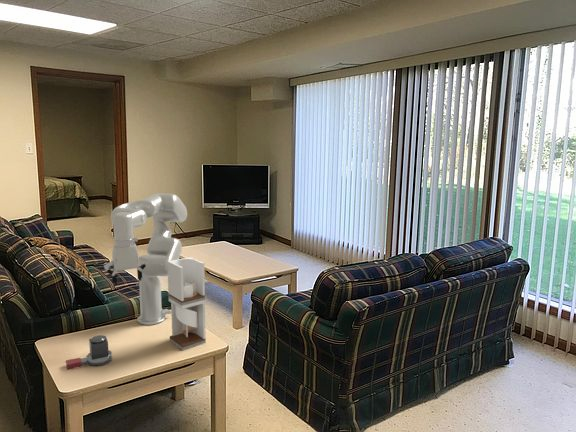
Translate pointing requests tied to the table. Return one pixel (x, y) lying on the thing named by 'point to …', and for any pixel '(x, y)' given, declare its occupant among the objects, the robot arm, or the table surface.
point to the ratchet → (88, 361)
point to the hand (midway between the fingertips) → (127, 281)
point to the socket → (98, 347)
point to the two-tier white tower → (187, 302)
